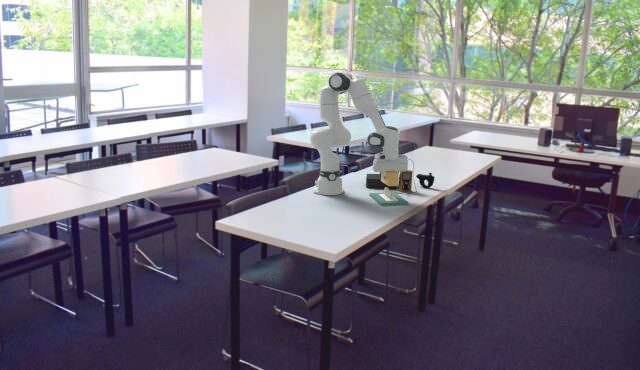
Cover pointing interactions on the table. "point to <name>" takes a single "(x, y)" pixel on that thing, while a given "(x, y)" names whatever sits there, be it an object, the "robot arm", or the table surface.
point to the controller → (425, 177)
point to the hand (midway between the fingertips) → (389, 178)
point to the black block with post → (376, 182)
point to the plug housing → (391, 178)
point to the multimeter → (406, 180)
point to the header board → (388, 198)
